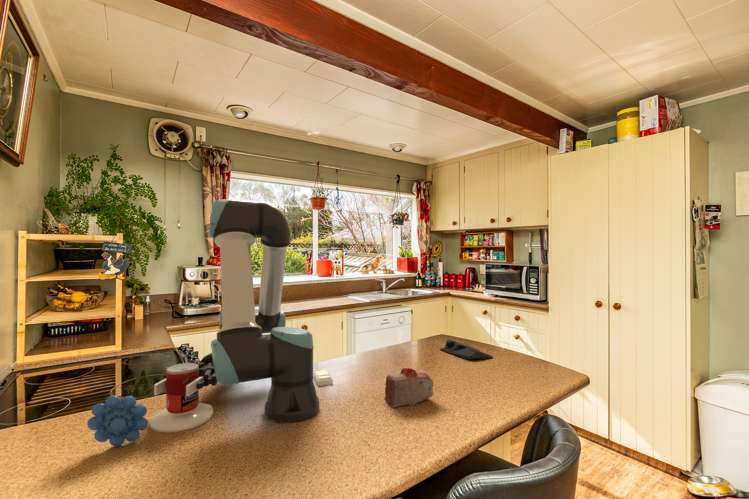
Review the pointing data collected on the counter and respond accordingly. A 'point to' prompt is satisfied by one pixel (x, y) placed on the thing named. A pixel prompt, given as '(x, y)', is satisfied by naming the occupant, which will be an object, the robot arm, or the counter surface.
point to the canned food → (181, 388)
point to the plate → (181, 419)
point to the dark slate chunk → (464, 351)
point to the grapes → (118, 420)
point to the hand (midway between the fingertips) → (171, 390)
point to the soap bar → (322, 378)
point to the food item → (408, 387)
